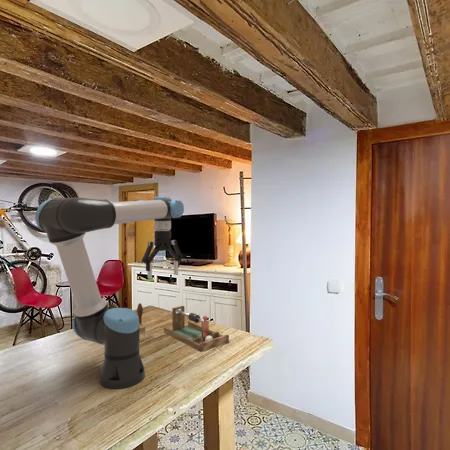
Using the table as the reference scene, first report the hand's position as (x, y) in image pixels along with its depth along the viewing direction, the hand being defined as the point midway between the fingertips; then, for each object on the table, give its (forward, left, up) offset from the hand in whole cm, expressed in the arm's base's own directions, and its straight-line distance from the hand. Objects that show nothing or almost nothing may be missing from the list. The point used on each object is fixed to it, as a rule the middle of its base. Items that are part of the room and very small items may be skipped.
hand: (163, 276), depth 154 cm
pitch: (+10, -11, -29) cm, 32 cm away
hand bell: (-8, +8, -29) cm, 31 cm away
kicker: (+10, -6, -27) cm, 30 cm away
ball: (+10, -20, -25) cm, 33 cm away
